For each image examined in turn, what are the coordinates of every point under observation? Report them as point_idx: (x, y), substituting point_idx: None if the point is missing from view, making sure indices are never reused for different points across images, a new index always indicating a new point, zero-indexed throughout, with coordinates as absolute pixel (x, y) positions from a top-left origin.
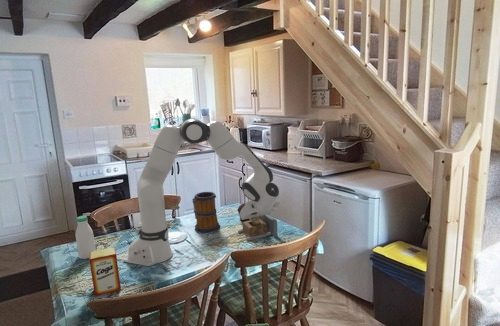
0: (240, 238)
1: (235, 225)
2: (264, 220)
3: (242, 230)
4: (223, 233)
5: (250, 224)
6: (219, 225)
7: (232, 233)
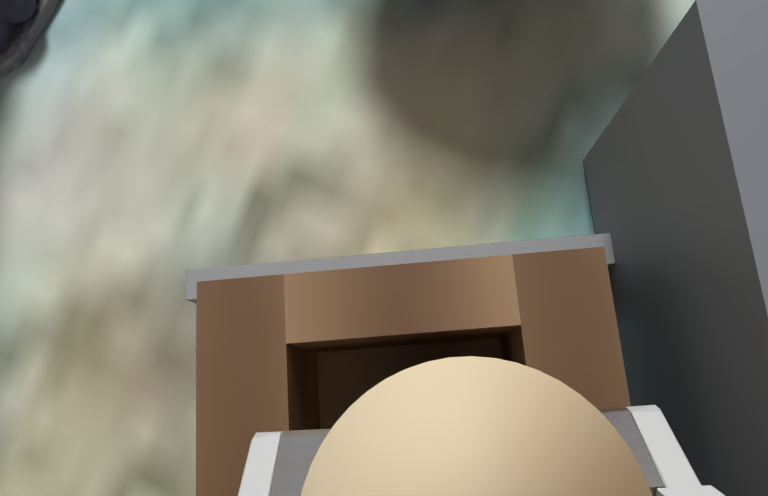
0: (153, 491)
1: (266, 18)
2: (695, 362)
3: None
4: (16, 208)
5: (362, 343)
6: (10, 4)
7: (123, 261)
